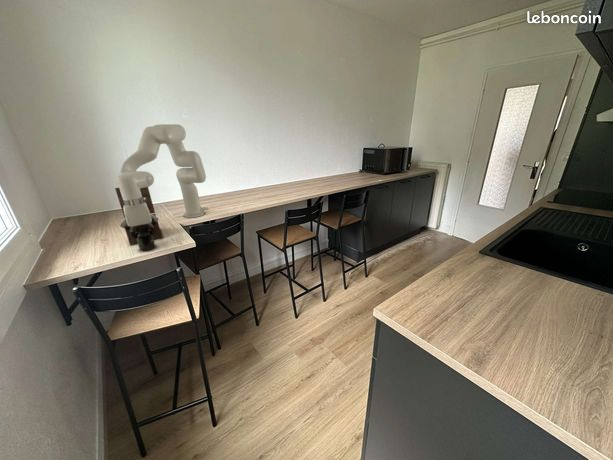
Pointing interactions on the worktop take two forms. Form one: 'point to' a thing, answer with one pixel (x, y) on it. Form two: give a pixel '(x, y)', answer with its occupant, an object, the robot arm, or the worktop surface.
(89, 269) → the worktop surface
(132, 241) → the walnut box
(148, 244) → the supplement bottle
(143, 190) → the lid
